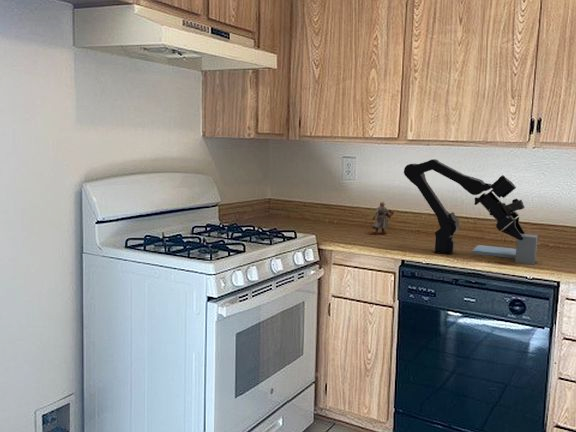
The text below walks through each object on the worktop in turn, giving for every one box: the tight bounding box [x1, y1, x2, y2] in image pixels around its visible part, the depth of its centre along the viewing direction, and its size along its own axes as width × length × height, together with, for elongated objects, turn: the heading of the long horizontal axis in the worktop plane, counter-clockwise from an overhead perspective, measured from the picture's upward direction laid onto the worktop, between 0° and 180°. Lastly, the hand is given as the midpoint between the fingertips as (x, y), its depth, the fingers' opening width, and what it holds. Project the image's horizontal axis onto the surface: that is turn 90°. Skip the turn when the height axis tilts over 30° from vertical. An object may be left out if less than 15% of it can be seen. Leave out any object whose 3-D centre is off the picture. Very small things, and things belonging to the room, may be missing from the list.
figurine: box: [370, 201, 395, 235], centre depth 260 cm, size 14×7×15 cm, turn 111°
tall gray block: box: [514, 233, 539, 266], centre depth 206 cm, size 6×6×10 cm
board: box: [471, 244, 516, 259], centre depth 222 cm, size 20×14×1 cm
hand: (523, 237), depth 206 cm, fingers open, 9 cm apart
